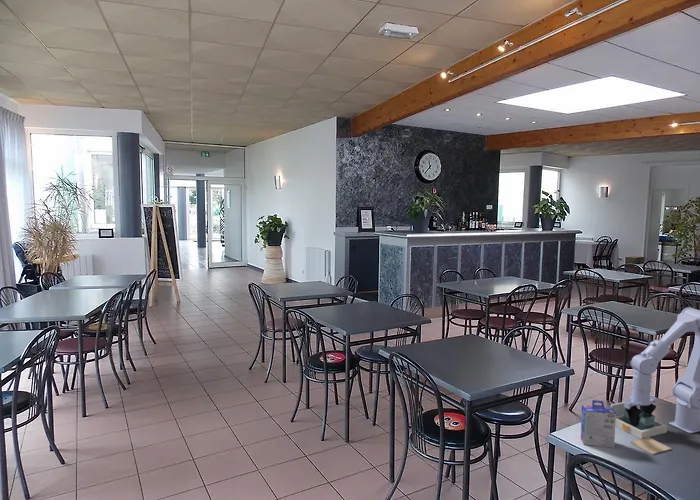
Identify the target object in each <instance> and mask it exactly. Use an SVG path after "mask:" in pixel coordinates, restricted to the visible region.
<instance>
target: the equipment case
mask: <svg viewBox="0 0 700 500" xmlns="http://www.w3.org/2000/svg"><path fill="white" fill-rule="evenodd" d="M624 415H625V414H624ZM624 415H620V416H616V423H615V427H617V428H619V429H621V430H623V431H624V432H627V433H629V434H631V435H632V436H634V437H636V438H639V440H640V439H644V438H647V437H650V438H652V437H654V436H659V435H663V434H666V433H668V425H666V424H665V423H662V422H660V421H658V420H656V419H655V423H654V427H653V428H649V429H645V430H639V429H637V428H635V427H633V426H631V425H629V424H627V423H625V422H624Z"/></svg>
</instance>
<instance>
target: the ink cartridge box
mask: <svg viewBox="0 0 700 500" xmlns="http://www.w3.org/2000/svg"><path fill="white" fill-rule="evenodd" d="M591 402H592V405H585V404H584V405H583V404H582V405H581V417H580V418H581V423H580V440H581V442H582V444H583V445H585V446H586V445H587V446H595V447H596V446H597V447H605V448H615V438H616V437H615V436H616V426H615V423H616V413H615V411H614V410H613V409H612V408H611V407H610V406H605V404H604V401H603V400H598V399H597V400H596V399H592V400H591ZM597 403H598V404H597ZM599 404H600V405H599Z"/></svg>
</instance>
